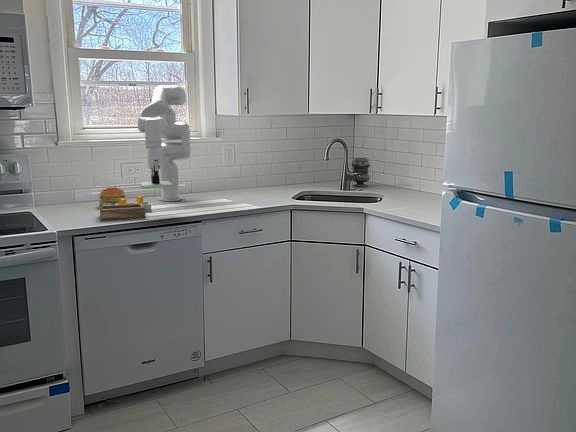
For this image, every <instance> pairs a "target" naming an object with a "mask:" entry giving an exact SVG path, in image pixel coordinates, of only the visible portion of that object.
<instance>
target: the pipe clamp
mask: <svg viewBox="0 0 576 432" xmlns="http://www.w3.org/2000/svg"><path fill="white" fill-rule="evenodd" d="M143 202H144V196H143V195H137V196H136V199H135V203H134V204H137V203H143ZM128 203H129V202H127V198H125V199H120V204H128ZM143 205H144V204H143Z"/></svg>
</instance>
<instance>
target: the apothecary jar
mask: <svg viewBox="0 0 576 432" xmlns="http://www.w3.org/2000/svg"><path fill="white" fill-rule="evenodd" d="M351 166H352V168H353V171H352V172H356V173H362V175H360V176H358V177H356V178H355V179H353V180H352V181H353V182H355V184H352V187H353V186H356V187H355V188H368V187H369V185H368V184H366V183H367V182H369V181H370V180H371V176H370V174H369V167H371V163H370V162H369V158H367V157H354V159H353V162H351Z"/></svg>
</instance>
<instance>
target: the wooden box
mask: <svg viewBox="0 0 576 432" xmlns="http://www.w3.org/2000/svg"><path fill="white" fill-rule="evenodd" d="M99 217H100V222H105V221H106V220H108V221H119V220H132V219H133V220H134V219H135V220H136V219H146V212H145V207H144V205H143V203H137V204H120V205H103V204H102V200H100V199H99Z"/></svg>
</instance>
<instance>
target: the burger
mask: <svg viewBox="0 0 576 432" xmlns="http://www.w3.org/2000/svg"><path fill="white" fill-rule="evenodd" d="M126 196H127V195H126V193H125V191H124V190H123V189H121V188H119V187H115V186H113V187H106V188H105V189H104V188H103V190H101V191H100V193H99V200H102V204H103V205H115V203H120V199H126Z"/></svg>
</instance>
